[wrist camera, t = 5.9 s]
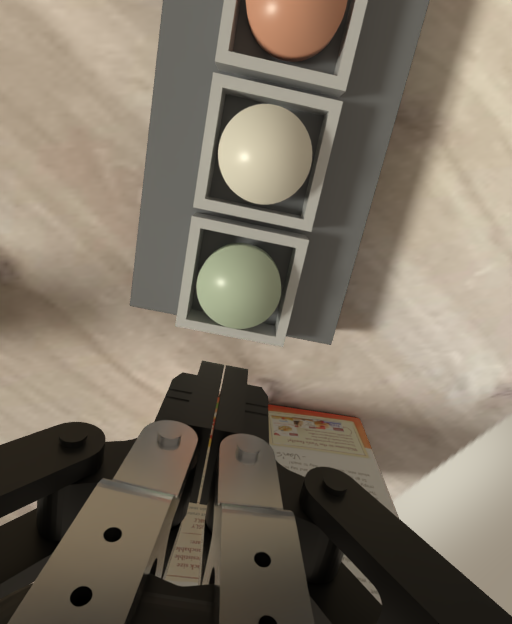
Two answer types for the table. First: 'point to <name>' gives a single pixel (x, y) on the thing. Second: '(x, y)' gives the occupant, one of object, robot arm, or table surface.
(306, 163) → the cream button
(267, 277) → the sage button
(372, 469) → the cracker box
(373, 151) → the button panel
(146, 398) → the table surface
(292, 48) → the terracotta button
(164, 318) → the table surface
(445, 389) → the table surface
